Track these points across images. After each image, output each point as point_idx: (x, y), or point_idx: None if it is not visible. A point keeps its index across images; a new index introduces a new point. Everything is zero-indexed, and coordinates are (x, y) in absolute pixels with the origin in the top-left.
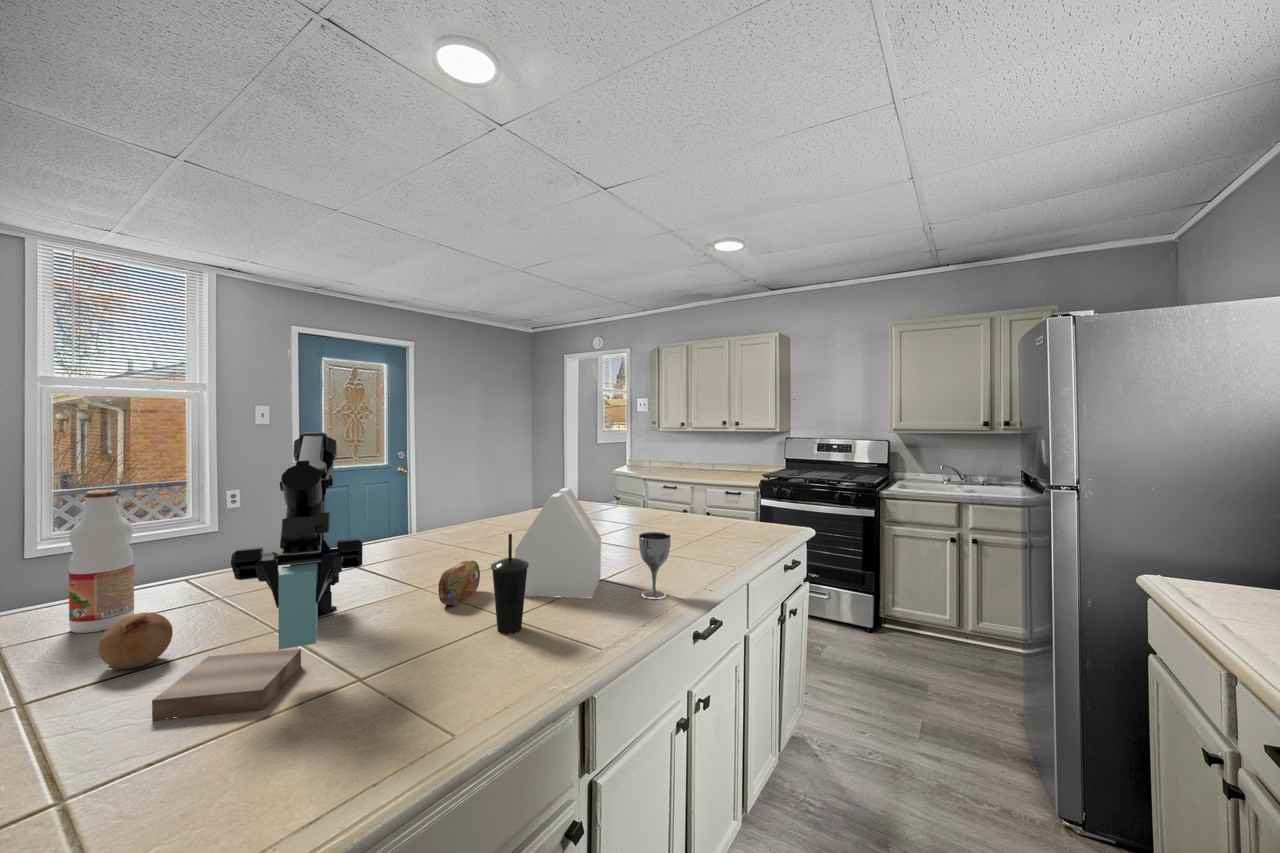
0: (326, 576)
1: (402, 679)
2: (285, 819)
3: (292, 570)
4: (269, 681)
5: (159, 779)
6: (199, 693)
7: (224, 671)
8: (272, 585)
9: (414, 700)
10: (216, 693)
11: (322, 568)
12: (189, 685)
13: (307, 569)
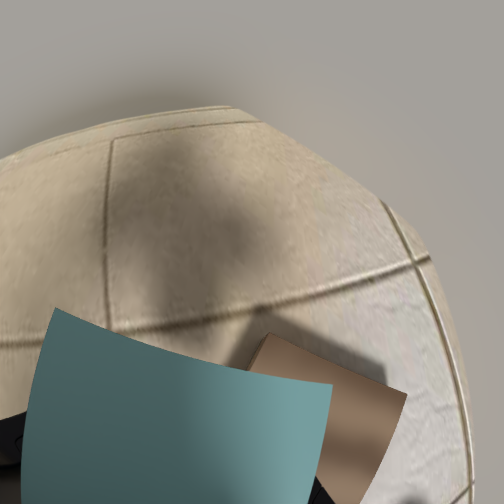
0: (24, 412)
1: (67, 283)
2: (256, 132)
3: (208, 482)
4: (256, 362)
5: (355, 243)
6: (358, 384)
7: (325, 458)
8: (315, 486)
9: (90, 216)
10: (336, 367)
11: (11, 454)
12: (371, 425)
13: (86, 416)
